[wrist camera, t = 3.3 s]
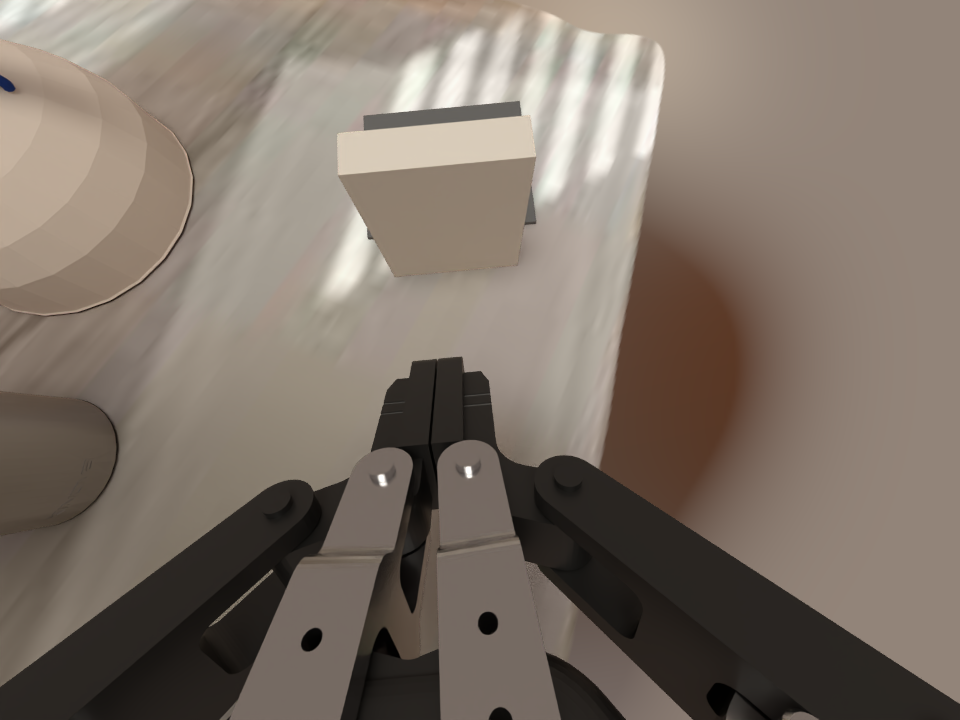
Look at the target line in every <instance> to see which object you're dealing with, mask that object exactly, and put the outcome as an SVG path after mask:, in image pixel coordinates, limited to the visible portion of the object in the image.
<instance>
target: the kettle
mask: <svg viewBox="0 0 960 720" xmlns="http://www.w3.org/2000/svg"><path fill="white" fill-rule="evenodd" d="M192 184H193V176H192V172H191V168H190V164H189V160H188V157H187V153H186V151H185V150H184V148H183V147H182V145H181V144H180V142H179V141H178V139H177V138H176V136H175V135H174V133H173V132H172V131H170V130H169V129H168V128H167V127H165V126H164V125H163V124H161V123H160V122H159V121H158V120H156V119H155V118H154V117H152V116H151V115H149V114H148V113H147V112H146V111H145V110H143V109H142V108H141V107H140V106H139V105H137V104H136V103H135V102H134V101H133V100H131V99H130V98H129V97H128V96H126V95H125V94H124V93H123V92H121V91H120V90H119V89H118V88H116V87H115V86H114V85H112V84H111V83H110V82H109V81H107V80H106V79H104V78H102V77H100V76H98V75H96V74H94V73H92V72H90V71H88V70H86V69H84V68H82V67H80V66H78V65H76V64H74V63H72V62H70V61H68V60H66V59H64V58H61V57H59V56H56V55H53V54H51V53H48V52H46V51H43V50H40V49H36V48H33V47H29V46H25V45H21V44H17V43H13V42H9V41H5V40H1V39H0V305H2V306H4V307H6V308H9V309H11V310H13V311H16V312H23V313H30V314H36V315H43V316H47V315H56V314H65V313H74V312H79V311H82V310H85V309H88V308H91V307H93V306H96V305H99V304H102V303H105V302H107V301H110V300H112V299H114V298H115V297H117V296H119V295H120V294H122V293H124V292H125V291H127V290H128V289H130V288H132V287H133V286H135V285H136V284H138V283H140V282H141V281H142V280H143V279H144V278H145V277H146V276H147V275H148V274H149V273H151V272H152V271H153V270H154V269H155V268H156V267H157V266H158V265H159V264H160V263H161V262H162V261H163V260H164V259H165V258H166V256H167V255H168V253H169V251H170V250H171V248H172V247H173V245H174V244H175V242H176V241H177V239H178V238H179V236H180V235H181V233H182V230H183V228H184V225H185V222H186V219H187V216H188V213H189V210H190V207H191V201H192Z"/></svg>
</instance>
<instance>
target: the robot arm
mask: <svg viewBox="0 0 960 720" xmlns="http://www.w3.org/2000/svg"><path fill="white" fill-rule="evenodd" d="M115 458H116V438H115V433H114V430H113V428H112V425H111V423H110V421H109V420H108V418H107V417H106V415H105V414H104V413H103V412H102V411H101V410H100V409H98V408H97V407H96V406H94V405H92V404H90V403H88V402H86V401H82V400H78V399H72V398H62V397H52V396H42V395H32V394H22V393H13V392H4V391H0V536H2V535H7V534H12V533H17V532H22V531H27V530H32V529H37V528H42V527H47V526H52V525H57V524H60V523H62V522H65V521H67V520H69V519H72V518H73V517H75V516H76V515H78V514H79V513H81V512H82V511H84V510H85V509H86V508H87V507H88V506H89V505H90V504H91V503H92V502H93V501H95V499H96V498H97V497H98V495H99V494H100V493H101V491H102V490H103V489H104V487H105V485H106V483H107V482H108V480H109V478H110V476H111V473H112V470H113V466H114V463H115ZM433 509H439V527H440V548H438V549H437V598H438V635H439V649H437V650H435V651H432V652H430V653H428V654H425V655H423V656H420V650H421V640H420V615H421V608H422V601H423V594H424V587H425V580H426V573H427V566H428V559H429V552H430V545H431V531H430V526H431V511H432V510H433ZM525 561H527V562H531V563H535V564H537V565H538V567H539V569H540V570H541V572H542V573H543V574H544V575H545V576H546V577H547V578H548V579H549V580H550V581H551V582H552V583H553V584H554V585H555V586H556V587H557V588H559V589H560V590H561V591H562V592H563V593H564V594H565V595H566V596H567V597H568V598H569V599H570V600H571V601H572V602H573V603H574V604H575V605H576V606H577V607H578V608H579V609H580V610H581V611H582V612H583V613H584V614H585V615H586V616H587V617H588V618H589V619H590V620H591V621H592V622H593V623H594V624H595V625H596V626H598V627H599V628H600V629H601V630H602V631H603V632H604V633H605V634H606V635H607V636H608V637H609V638H610V639H611V640H612V641H613V642H614V643H615V644H616V645H617V646H618V647H619V648H620V649H621V650H622V651H623V652H624V653H625V654H626V655H627V656H628V657H629V658H630V659H631V660H633V662H634V663H635V664H637V665H638V666H639V667H640V668H641V669H642V670H643V671H644V672H645V673H646V674H647V675H648V676H649V677H650V678H651V679H652V680H653V681H654V682H655V683H656V684H657V685H658V686H659V687H660V688H661V689H662V690H663V691H664V692H665V693H666V694H667V695H668V696H669V697H671V698H672V700H673V701H674V702H675V703H676V704H678V705H679V706H680V707H681V708H682V709H683V710H684V711H685V712H686V713H687V714H688V715H689V716H690V717H691V718H692V719H693V720H960V704H959V703H957V702H956V701H954V700H953V699H951V698H950V697H948V696H947V695H945V694H943V693H942V692H940V691H939V690H937V689H936V688H934V687H933V686H931V685H930V684H928V683H927V682H925V681H923V680H922V679H920V678H918V677H917V676H916V675H914V674H912V673H911V672H910V671H908V670H906V669H905V668H903V667H902V666H900V665H899V664H897V663H896V662H894V661H893V660H891V659H889V658H888V657H886V656H885V655H883V654H882V653H880V652H879V651H877V650H876V649H874V648H873V647H871V646H870V645H868V644H866V643H865V642H863V641H862V640H860V639H859V638H857V637H856V636H854V635H853V634H851V633H849V632H848V631H846V630H845V629H843V628H842V627H840V626H839V625H837V624H836V623H834V622H833V621H831V620H829V619H828V618H826V617H825V616H823V615H822V614H820V613H819V612H817V611H816V610H814V609H813V608H811V607H809V606H808V605H806V604H805V603H803V602H802V601H800V600H799V599H797V598H796V597H794V596H793V595H791V594H789V593H788V592H786V591H785V590H783V589H782V588H780V587H779V586H777V585H776V584H774V583H773V582H771V581H769V580H768V579H766V578H765V577H763V576H762V575H760V574H759V573H757V572H756V571H754V570H753V569H751V568H749V567H748V566H746V565H745V564H743V563H741V562H740V561H739V560H737V559H736V558H734V557H733V556H731V555H730V554H728V553H726V552H725V551H723V550H722V549H720V548H719V547H717V546H716V545H714V544H712V543H711V542H710V541H708V540H706V539H705V538H703V537H702V536H700V535H699V534H697V533H696V532H694V531H693V530H691V529H690V528H688V527H686V526H685V525H683V524H682V523H680V522H679V521H677V520H676V519H674V518H673V517H671V516H669V515H668V514H666V513H665V512H663V511H662V510H660V509H659V508H657V507H656V506H654V505H653V504H651V503H650V502H648V501H646V500H645V499H643V498H642V497H640V496H639V495H637V494H636V493H634V492H633V491H631V490H630V489H628V488H626V487H625V486H623V485H622V484H620V483H619V482H617V481H616V480H614V479H613V478H611V477H610V476H608V475H606V474H605V473H603V472H602V471H600V470H599V469H597V468H596V467H594V466H593V465H591V464H590V463H588V462H586V461H584V460H582V459H580V458H577V457H573V456H555V457H552V458H549V459H547V460H545V461H544V462H542V463H541V464H540V465H539V467H538V468H537V467H531V466H525V465H521V464H517V463H515V462H513V461H511V460H509V459H507V458H506V457H505V456H504V455H503V454H502V453H501V452H500V451H499V449H498V447H497V444H496V438H495V430H494V421H493V413H492V405H491V396H490V387H489V380H488V379H487V378H486V377H485V376H484V375H483V373H482V372H481V371H477V372H467V373H464V365H463V358H462V357H453V358H442V359H438V361H437V359H432V360H422V361H413V362H412V366H411V371H410V376H409V378H405V379H396V381H395V382H394V383H393V384H392V385H391V386H390V388H389V389H388V390H387V392H386V396H385V400H384V405H383V407H382V411H381V415H380V419H379V423H378V426H377V430H376V434H375V438H374V442H373V445H372V449H371V453H369V454H367V455H366V456H364V457H363V458H362V459H361V460H360V461H359V462H358V463H357V464H356V465H355V467H354V468H353V470H352V473H351V475H350V478H348V479H346V480H344V481H342V482H339V483H337V484H334V485H331V486H328V487H325V488H323V489H320V490H317V491H314V492H313V490H312V488H311V486H310V485H309V484H308V483H306V482H304V481H301V480H288V481H283V482H280V483H277V484H275V485H273V486H271V487H269V488H267V489H266V490H264V491H263V492H261V493H260V494H259V495H257V496H256V497H255V498H253V499H252V500H251V501H249V502H248V503H247V504H245V505H244V506H243V507H241V508H240V509H239V510H237V511H236V512H235V513H233V514H232V515H230V516H229V517H228V518H226V519H225V520H224V521H222V522H221V523H220V524H218V525H217V526H216V527H214V528H213V529H212V530H210V531H209V532H208V533H206V534H205V535H204V536H202V537H201V538H200V539H198V540H197V541H196V542H194V543H193V544H192V545H190V546H189V547H188V548H186V549H185V550H184V551H182V552H181V553H180V554H178V555H177V556H176V557H174V558H173V559H172V560H170V561H169V562H168V563H166V564H165V565H163V566H162V567H161V568H159V569H158V570H157V571H155V572H154V573H153V574H151V575H150V576H149V577H147V578H146V579H145V580H143V581H142V582H141V583H139V584H138V585H137V586H135V587H134V588H133V589H131V590H130V591H129V592H127V593H126V594H125V595H123V596H122V597H121V598H119V599H118V600H117V601H115V602H114V603H113V604H111V605H110V606H109V607H107V608H106V609H105V610H103V611H102V612H101V613H99V614H98V615H96V616H95V617H94V618H92V619H91V620H90V621H88V622H87V623H86V624H84V625H83V626H82V627H80V628H79V629H78V630H76V631H75V632H74V633H72V634H71V635H70V636H68V637H67V638H66V639H64V640H63V641H62V642H60V643H59V644H58V645H56V646H55V647H54V648H52V649H51V650H50V651H48V652H47V653H46V654H44V655H43V656H42V657H40V658H39V659H38V660H36V661H35V662H34V663H32V664H31V665H29V666H28V667H27V668H25V669H24V670H23V671H21V672H20V673H19V674H17V675H16V676H15V677H13V678H12V679H11V680H9V681H8V682H7V683H5V684H4V685H3V686H1V687H0V720H220V719H221V718H222V716H223V715H224V714H225V713H226V712H227V711H228V710H229V709H230V708H231V707H232V706H233V705H234V703H235V702H236V701H237V700H238V701H237V703H236V706H235V708H234V710H233V712H232V715H231V716H230V717H229V718H228V719H227V720H626V719H625V718H624V717H623V716H622V714H621V713H620V712H619V711H618V710H617V709H616V708H615V706H614V705H613V704H612V703H611V702H610V701H609V699H608V698H607V697H606V696H605V695H604V694H603V693H602V691H601V690H600V689H599V688H598V687H597V686H596V685H595V684H594V683H593V682H592V681H590V680H589V679H588V678H587V677H586V676H585V675H584V674H582V673H581V672H580V671H579V670H577V669H576V668H575V667H573V666H572V665H570V664H569V663H567V662H565V661H564V660H562V659H560V658H558V657H556V656H554V655H551V654H549V653H546V652H545V648H544V643H543V639H542V634H541V630H540V626H539V621H538V617H537V613H536V608H535V604H534V599H533V595H532V591H531V586H530V582H529V577H528V573H527V569H526V564H525ZM271 569H272V570H273V571H274V572H273V573H272V574H271V575H269V576H268V577H267V578H266V579H265V580H264V581H263V582H262V583H261V584H260V585H258V586H257V587H256V588H255V589H254V590H253V591H252V592H251V593H250V594H249V595H247V596H246V597H245V598H244V599H243V600H242V601H241V602H240V603H239V604H238V605H237V606H235V607H234V608H233V609H232V610H231V611H230V612H229V613H228V614H227V615H226V616H224V617H223V618H222V619H221V620H220V621H219V622H217V623H216V624H214V625H212V626H210V625H211V624H212V623H213V622H214V621H215V620H216V619H217V618H218V617H219V616H220V615H221V614H222V613H224V612H225V611H226V610H227V609H228V608H229V607H230V606H231V605H232V604H233V603H235V602H236V601H237V600H238V599H239V598H240V597H241V596H242V595H243V594H245V593H246V592H247V591H248V590H249V589H250V588H251V587H252V586H253V585H255V584H256V583H257V582H258V581H259V580H260V579H261V578H262V577H263V576H264V575H266V574H267V573H268V572H269V571H270V570H271ZM209 626H210V627H209Z"/></svg>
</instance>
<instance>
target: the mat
mask: <svg viewBox="0 0 960 720" xmlns="http://www.w3.org/2000/svg"><path fill="white" fill-rule="evenodd" d="M516 116H522V115H521V108H520V101H516V102H505V103H494V104H484V105H473V106H462V107H452V108H441V109H431V110H420V111H409V112H399V113H388V114H377V115H367V116H364V131H367V130H377V129H388V128H399V127H409V126H420V125H431V124H441V123H452V122H463V121H473V120H484V119H495V118H505V117H516ZM535 223H536V216H535V209H534V202H533V195H532V187H531V189H530V195H529V201H528V206H527V212H526V218H525V224H535ZM367 235H368V239H373V237H372V235H371V233H370V231H369V230H368V228H367Z"/></svg>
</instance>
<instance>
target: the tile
mask: <svg viewBox="0 0 960 720" xmlns="http://www.w3.org/2000/svg"><path fill="white" fill-rule="evenodd" d="M337 144H338V176H339V178H340V180H341V182H342V183H343V185H344V187H345V189H346V191H347V192H348V194H349V196H350V198H351V199H352V201H353V203H354V205H355V207H356V208H357V210H358V212H359V214H360V215H361V217H362V219H363V221H364V223H365V224H366V226H367V228H368V230H369V231H370V233H371V235H372V237H373V239H374V240H375V242H376V244H377V246H378V247H379V249H380V251H381V253H382V255H383V256H384V258H385V260H386V262H387V263H388V265H389V267H390V269H391V271H392V272H393V274H394V276H395V277H401V276H411V275H422V274H432V273H443V272H453V271H464V270H475V269H485V268H496V267H506V266H517V264H518V258H519V252H520V247H521V241H522V235H523V229H524V224H525V218H526V212H527V206H528V201H529V195H530V189H531V183H532V178H533V172H534V166H535V160H536V152H535V146H534V139H533V132H532V125H531V118H530V115H527V116H516V117H505V118H495V119H484V120H473V121H463V122H452V123H441V124H431V125H420V126H409V127H399V128H388V129H377V130H367V131H356V132H345V133H337Z"/></svg>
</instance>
